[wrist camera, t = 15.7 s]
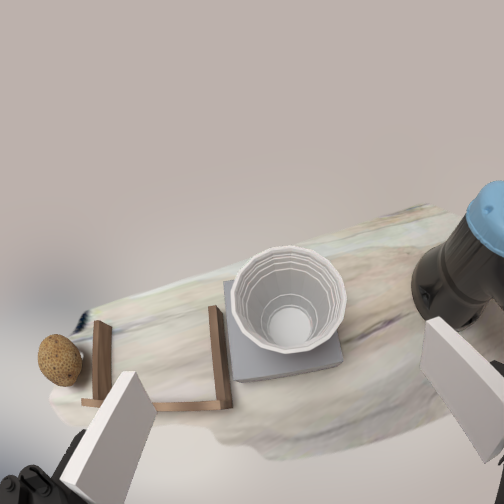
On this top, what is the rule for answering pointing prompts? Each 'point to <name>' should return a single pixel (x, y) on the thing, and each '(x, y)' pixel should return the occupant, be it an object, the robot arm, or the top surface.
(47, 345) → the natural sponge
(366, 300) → the top surface
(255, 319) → the plastic cup
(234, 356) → the grey square block
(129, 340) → the top surface
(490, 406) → the robot arm
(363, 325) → the top surface
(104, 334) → the brown wooden frame
